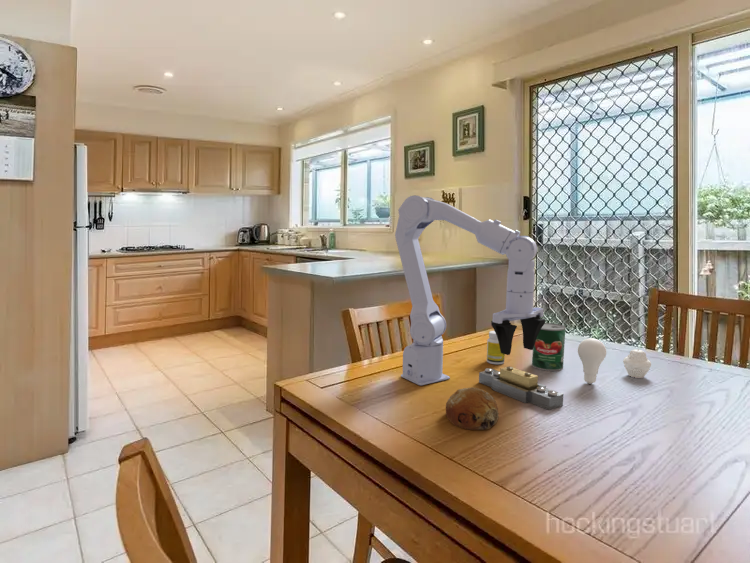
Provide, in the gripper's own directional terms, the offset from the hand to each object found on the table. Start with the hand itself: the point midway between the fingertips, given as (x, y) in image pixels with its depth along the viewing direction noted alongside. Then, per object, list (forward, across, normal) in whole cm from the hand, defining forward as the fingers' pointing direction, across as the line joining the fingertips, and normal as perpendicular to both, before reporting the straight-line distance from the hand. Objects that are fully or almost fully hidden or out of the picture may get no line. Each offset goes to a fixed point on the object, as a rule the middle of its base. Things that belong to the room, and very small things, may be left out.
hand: (517, 351), depth 103 cm
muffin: (+10, +34, -9) cm, 37 cm away
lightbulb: (+10, +19, -6) cm, 22 cm away
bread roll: (+10, -19, -6) cm, 22 cm away
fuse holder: (+9, 0, -1) cm, 9 cm away
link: (+10, 0, -1) cm, 10 cm away
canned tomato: (+10, +22, +8) cm, 26 cm away
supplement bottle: (+10, +13, +18) cm, 24 cm away
